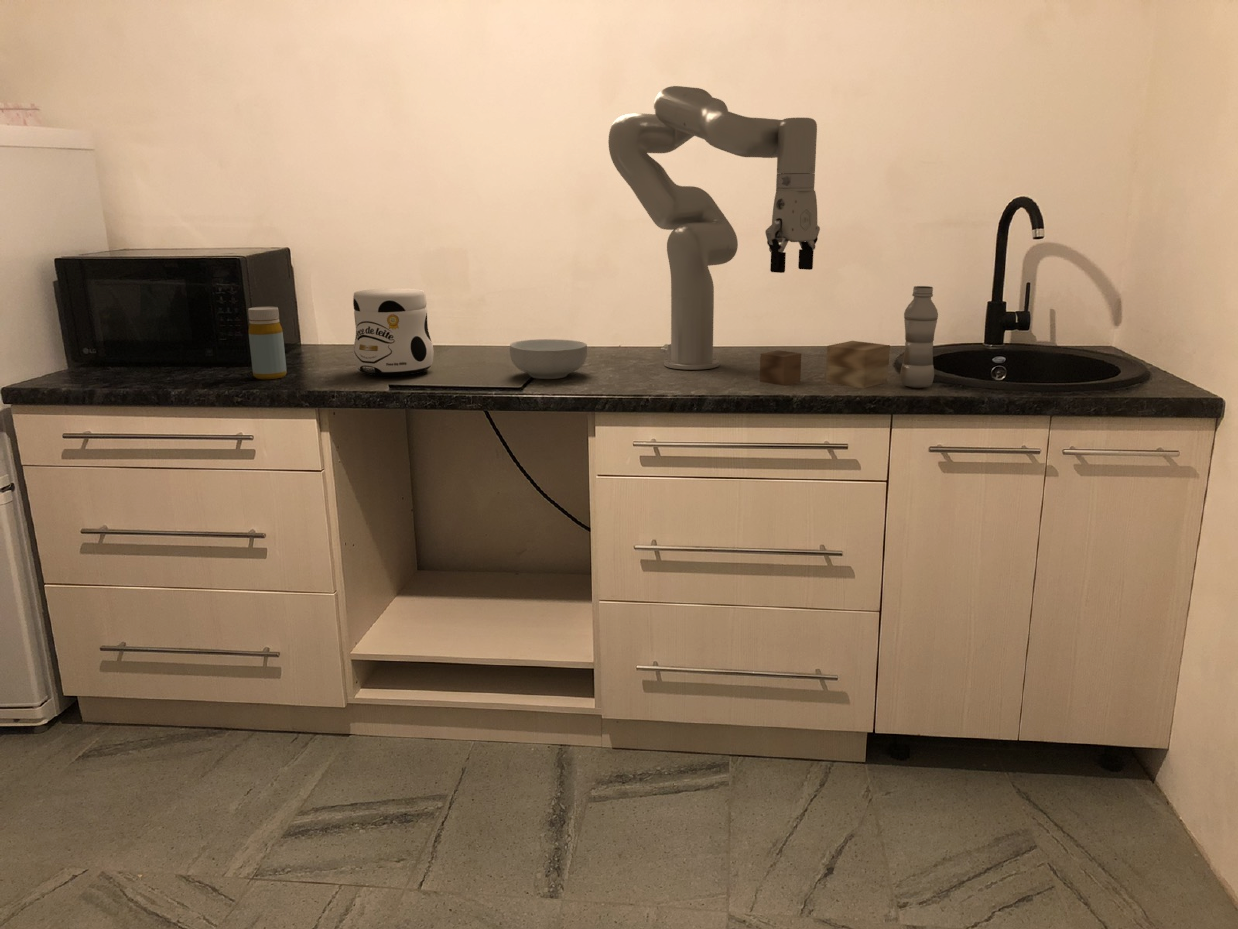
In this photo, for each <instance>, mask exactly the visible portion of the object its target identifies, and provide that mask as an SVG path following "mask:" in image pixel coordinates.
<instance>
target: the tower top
mask: <svg viewBox="0 0 1238 929" xmlns="http://www.w3.org/2000/svg"><path fill="white" fill-rule="evenodd" d="M890 348H891V345H890V344H884V343H873V342H866V341H857V340H849V341H844V342H840V343H835V344H829V345H827V353H826V366H827V365H830V366H837V367H844V368H851V369H858V370H868V369H872V368H876V367H880V366H885V365H888V366H889V364H890V350H891V349H890Z"/></svg>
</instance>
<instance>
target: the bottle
mask: <svg viewBox="0 0 1238 929" xmlns="http://www.w3.org/2000/svg"><path fill="white" fill-rule="evenodd" d="M247 309H248V310H247V312H248V313H247V314H248V319H249V321H248V322H249V326H248V341H249V349H250V350H249V351H250V357H251V358H250V359H251V367H252V368H251V369H252V375H253V377H254V378H255V379H256V380H257V379H258V380H274V379H276V380H277V379H282V378H284V377H285V376H286V375H287V363H286V362H287V360H286V353H285V351H286V350H285V343H284V342H285V341H284V334H283V333H284V332H283V328H282V326H281V323H280V314H279V308H278V306H256V307H250V308H247Z"/></svg>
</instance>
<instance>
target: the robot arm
mask: <svg viewBox="0 0 1238 929" xmlns="http://www.w3.org/2000/svg"><path fill="white" fill-rule="evenodd" d="M653 110H654V113H655V114H654V113H641V112H636V113H635V112H634V113H633V112H632V113H627V114H623V115H621V116H619V117H618V118H616V119H615V120H614V121H613V123H612V124H611V126H610V129H609V132H608V141H607V142H608V151H609V156H610V159H611V161H612V164H613V165H614V167H615V169H616V171H617V172H618V173H619V174H620V176H621V177H622V179H624V181H625V182H626V184H627V185H628V186H629V187H630V189H631V190H632V192H633V193H634V195H635V197H636V198H637V199H638V201H639V203H640V204H641V205H642V207H643V208H644V210H645V211H646V213H647V214H648V216H649V218H650V219H651V220H652V221H653V223H654V224H655V226H657V227H658V228H659V229H661V230H666V231H667V230H668V231H671V232H670V233H669V236H668V237H667V241H666V252H667V254H666V255H667V258H668V262H669V269H670V270H669V271H670V289H671V290H670V298H671V300H670V303H671V304H670V305H671V306H670V309H671V310H670V313H671V314H670V317H671V318H670V327H671V328H670V343H669V344H667V343H665V344H664V345H663V346H662V347H660V349H659V350H660V351H659V352H660V353H661V354H666V355H667V358H666V359H664V361H663V362H664V364H663V365H664V366H665V367H666V368H669V369H675V370H687V371H688V370H690V371H691V370H692V371H695V370H697V371H699V370H709V369H715V368H718V367H719V366H720V362H721V361H720V360H719V358H715V357H714V314H715V313H714V312H715V311H714V310H715V307H714V306H715V305H714V304H715V301H714V299H715V298H714V297H715V295H714V294H715V291H714V289H715V288H714V287H715V286H714V281H713V280H714V279H713V278H712V274H711V271H710V269H709V267H710V266H717V265H718V266H719V265H724V264H727V263H728V262H730V261H731V260H732V259H734V257H735V256H736V255H737V251H738V246H739V245H738V242H739V241H738V237H737V233H736V231H735V229H734V227H733V226H732V224H731V223H730V222H729V220H728V219H727V217H726V216H725V214H724V213H723V212H722V210H721V209H720V207H719V206H718V204H717V203H716V201H715V200H714V199H713V197H712V196H711V195H710V194H709V193H708V192H707V191H706V190H704V189H703V188H701V187H697V186H694V185H693V186H692V185H688V186H686V185H679V184H677V183H675V182H674V181H673V180H672V178H671V177H670V176H669V174H668V173H667V171H666V169H665V168H664V167H663V166H662V164H661V163H659V162H658V161H656V160H655V158H653V157H652V156H650V155H649V154H668V153H671V152H673V151H675V150H677V149H679V148H680V147H681V146H683V145H684V144H685V143H687V142H688V141H690V139H693V137H695V138H696V137H697V138H699V139H702V140H704V141H705V142H706V143H707V144H708V145H710V146H712V147H713V148H715V149H718V150H721V151H724V152H726V153H729V154H732V155H735V156H738V157H742V158H763V159H776V160H777V161H776V179H775V180H776V181H775V182H776V183H775V184H776V185H775V196H774V199H773V201H774V202H773V207H772V208H773V209H772V215H771V216H772V217H771V225H769V226H768V228H766V229H765V236H766V240H767V241H766V242H767V246H768V247H769V248H768V250H769V252H770V266H769V267H770V268H769V271H770V272H771V273H778V274H779V273H780V274H782V273H783V274H784V273H785V271H786V257H787V255H786V254H787V253H786V251H785V249H786V248H787V247H786V246H787V245H788V243H789V242H790V243H798V244H799V246H800V249H798V262H797V263H798V264H797V265H798V267H797V268H798V269H799V270H813V268H814V250H816V244H817V242H818V240H819V239H818V237H819V233H820V230H821V228H820V226H819V224H818V201H817V193H816V190H815V180H816V163H817V162H816V158H817V135H818V134H817V133H818V124H817V122H816V120H815V119H813V118H811V117H787V118H784V119H776V118H764V117H750V116H745V115H741V114H737V113H735V112H731V111H729V109H728V106H727V104H726V103H725V102H724V101H723V100H722V99H719V98H717V97H713V96H712V95H711V93H710V92H708V91H706V90H705V89H703V88H701V87H691V86H682V85H681V86H679V85H671V86H668V87H665V88H663V89H661V91H659V92H658V93H657V95H656V97H655V99H654V103H653ZM784 251H785V252H784Z"/></svg>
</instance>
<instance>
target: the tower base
mask: <svg viewBox="0 0 1238 929" xmlns="http://www.w3.org/2000/svg"><path fill="white" fill-rule="evenodd" d="M825 370H826V371H825V383H828V384H832V385H838V386H839V385H840V386H846V387H853V388H860V389H866V388H869V387H874V386H877V385H881V384H885V383H887V382H888V376H889V373H888V372H889V365H885V366H880V367H876V368H872V369H868V370H858V369H851V368H844V367H837V366H830V365H827V364H826V368H825Z"/></svg>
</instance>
